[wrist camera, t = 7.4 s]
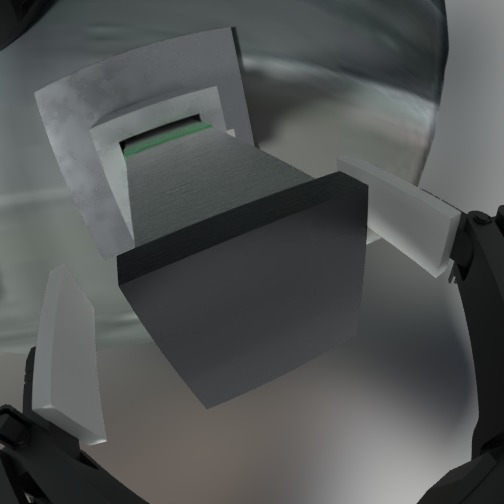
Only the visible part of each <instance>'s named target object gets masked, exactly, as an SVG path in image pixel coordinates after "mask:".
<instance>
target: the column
mask: <svg viewBox="0 0 504 504" xmlns="http://www.w3.org/2000/svg"><path fill="white" fill-rule="evenodd" d="M124 157H125V160H126V167H127V180H128V192H129V202H130V211H131V220H132V227H133V235H134V242H135V248H134V249H132V250H130V251H127V252H125V253H123V254H120V255H118V256H117V270H118V284H119V287H120V289H121V291H122V292H123V294H124V296H125V297H126V299H127V301H128V302H129V304H130V305H131V307H132V308H133V310H134V312H135V313H136V315H137V316H138V318H139V319H140V321H141V322H142V324H143V325H144V327H145V328H146V330H147V331H148V333H149V334H150V336H151V337H152V338H153V340H154V341H155V343H156V344H157V345H158V347H159V348H160V350H161V351H162V353H163V354H164V355H165V357H166V358H167V359H168V361H169V362H170V363H171V365H172V366H173V367H174V369H175V370H176V371H177V373H178V374H179V375H180V376H181V378H182V379H183V380H184V381H185V383H186V384H187V386H188V387H189V388H190V389H191V391H192V392H193V393H194V394H195V395H196V397H197V398H198V399H199V400H200V401H201V403H202V404H203V405H204V406H205V407H206V409H209V408H211V407H214V406H216V405H218V404H221V403H223V402H226V401H228V400H230V399H233V398H235V397H237V396H239V395H242V394H244V393H246V392H248V391H251V390H253V389H255V388H257V387H259V386H261V385H263V384H265V383H267V382H270V381H272V380H274V379H276V378H278V377H280V376H282V375H284V374H286V373H288V372H290V371H292V370H293V369H295V368H297V367H299V366H301V365H303V364H305V363H307V362H309V361H310V360H312V359H314V358H316V357H318V356H319V355H321V354H323V353H324V352H327V351H328V350H330V349H332V348H333V347H335V346H337V345H338V344H340V343H342V342H344V341H345V340H347V339H349V338H350V337H352V336H354V335H355V334H356V330H357V323H358V316H359V309H360V301H361V293H362V284H363V275H364V264H365V252H366V238H367V221H368V193H369V185H367V184H365V183H363V182H361V181H359V180H357V179H355V178H353V177H351V176H349V175H347V174H345V173H343V172H341V171H338V172H335V173H332V174H329V175H326V176H323V177H320V178H317V179H315V178H313V177H311V176H310V175H308V174H306V173H304V172H302V171H300V170H299V169H297V168H295V167H293V166H291V165H289V164H287V163H285V162H284V161H282V160H280V159H278V158H276V157H274V156H272V155H270V154H268V153H266V152H264V151H262V150H260V149H258V148H256V147H254V146H252V145H250V144H248V143H246V142H244V141H242V140H239V139H237V138H235V137H233V136H231V135H229V134H227V133H224V132H222V131H220V130H218V129H216V128H213V127H212V124H210V123H207V122H205V121H202V122H200V121H197V120H195V119H193V118H190V117H186V118H183V119H180V120H177V121H174V122H171V123H168V124H165V125H162V126H159V127H156V128H154V129H151V130H148V131H145V132H143V133H140V134H137V135H135V136H132V137H130V138H127V139H125V149H124Z"/></svg>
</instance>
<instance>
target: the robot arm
mask: <svg viewBox="0 0 504 504" xmlns="http://www.w3.org/2000/svg"><path fill="white" fill-rule="evenodd" d="M45 1H46V0H0V51H1V50H2V49H4V48H5V47H6V46H8V45H9V44H10V43H12V42H13V41H14V40H15V39H16V38H17V37H18V36H19V35H20V34H21V33H22V32H23V31H24V30H25V29H26V28H27V27H28V26H29V25H30V24H31V22H32V21H33V20H34V18H35V17H36V16H37V14H38V13H39V11H40V10H41V8H42V7H43V5H44V3H45ZM338 171H341V172H343V173H345V174H347V175H349V176H351V177H353V178H355V179H357V180H359V181H361V182H363V183H365V184H367V185H369V193H368V221H367V227H369V228H370V229H372V230H373V231H374V232H376V233H377V234H379V235H380V236H381V237H383V238H384V239H386V240H387V241H388V242H390V243H391V244H393V245H394V246H395V247H397V248H398V249H399V250H401V251H402V252H403V253H405V254H406V255H407V256H409V257H410V258H411V259H413V260H414V261H415V262H416V263H418V264H419V265H420V266H422V267H423V268H424V269H425V270H427V271H428V272H429V273H430V274H432V275H433V276H434V277H435V278H436V277H437V276H439V275H440V274H441V273H443V272H444V271H445V270H446V268H447V265H448V262H449V258H451V259H452V260H454V264H453V267H452V270H451V274H450V277H449V279H448V280H449V283H451V281H452V279H453V276H455V277H456V278H455V281H454V283H457V284H458V288H459V292H460V296H461V300H462V303H463V308H464V312H465V316H466V321H467V326H468V331H469V336H470V341H471V347H472V353H473V359H474V366H475V374H476V382H477V392H478V406H479V419H478V422H477V425H476V427H475V429H474V433H473V437H472V458H471V461H470V462H467V463H465V464H463V465H461V466H459V467H457V468H455V469H453V470H450V471H449V472H448V473H447V474H446V475H445V476H443V477H442V478H441V479H440V480H439V481H438V482H437V483H436V484H435V485H433V486H432V487H431V488H430V489H429V490H428V491H427V492H426V493H425V494H424V496H423V497H422V498H421V499H420V500H419V502H418V503H417V504H504V205H501V206H499V208H498V211H497V215H496V216H495V217H490V216H488V215H487V214H485V213H483V212H480V211H470V212H469V213H468V214H466V213H464V212H462V211H461V210H459V209H457V208H455V207H454V206H452V205H450V204H448V203H447V202H445V201H443V200H440V198H438V197H436V196H433V195H432V194H431V193H429V192H427V191H425V190H423V189H420V188H418V187H416V186H414V185H412V184H410V183H408V182H406V181H404V180H402V179H400V178H398V177H396V176H394V175H392V174H390V173H388V172H386V171H384V170H382V169H379V168H377V167H375V166H373V165H371V164H369V163H366V162H364V161H362V160H360V159H357V158H355V157H353V156H350V155H346V156H342V157H339V158H337V172H338ZM25 373H26V375H25V379H24V382H25V384H24V394H23V414H22V413H20V412H19V411H17V410H16V409H15V408H14V407H12V406H11V405H7V404H5V405H3V406H1V407H0V443H1V444H3V445H4V446H6V447H4V448H3V449H2V450H1V449H0V504H149V503H148V502H146V501H145V500H143V499H142V498H141V497H139V496H138V495H136V494H135V493H134V492H132V491H131V490H130V489H128V488H127V487H126V486H124V485H123V484H122V483H121V482H119V481H118V480H117V479H116V478H114V477H113V476H112V475H110V474H109V473H108V472H107V471H106V470H105V469H103V468H102V467H101V466H100V465H99V464H98V463H96V461H94V460H93V459H92V458H91V457H90V456H89V455H88V454H87V453H86V452H84V451H83V450H81V449H80V447H79V440H80V441H82V442H84V443H86V444H87V445H93V444H97V443H101V442H105V441H107V439H106V434H105V429H104V422H103V416H102V409H101V402H100V395H99V385H98V375H97V363H96V349H95V325H94V307H93V306H92V305H91V303H90V302H89V300H88V299H87V297H86V296H85V295H84V293H83V292H82V290H81V289H80V287H79V286H78V284H77V283H76V281H75V280H74V278H73V276H72V275H71V273H70V272H69V270H68V269H67V267H66V265H65V264H64V263H63V264H61V265H59V266H57V267H55V268H53V269H51V270H50V273H49V277H48V282H47V286H46V291H45V295H44V300H43V305H42V311H41V317H40V323H39V329H38V336H37V343H36V346H35V347H33V348H31V350H30V353H29V355H28V358H27V360H26V369H25ZM26 496H28V497H29V498H30V500H31V503H29V502H28V500H27V498H26Z"/></svg>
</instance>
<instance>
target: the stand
mask: <svg viewBox="0 0 504 504" xmlns="http://www.w3.org/2000/svg"><path fill="white" fill-rule="evenodd" d="M34 94H35V98H36V101H37V104H38V108H39V111H40V114H41V117H42V120H43V123H44V126H45V129H46V132H47V135H48V138H49V140H50V143H51V146H52V148H53V151H54V154H55V156H56V159H57V161H58V164H59V166H60V169H61V171H62V174H63V176H64V178H65V181H66V183H67V185H68V188H69V190H70V192H71V194H72V197H73V199H74V201H75V203H76V205H77V207H78V210H79V212H80V214H81V216H82V218H83V220H84V222H85V224H86V226H87V228H88V230H89V232H90V234H91V236H92V238H93V240H94V242H95V244H96V245H97V247H98V249H99V251H100V253H101V255H102V257H103V258H104V260H105V259H107V258H109V257H111V256H114V255H116V254H118V253H120V252H123V251H125V250H127V249H130V248H132V247H134V246H135V242H134V235H133V227H132V220H131V211H130V202H129V192H128V180H127V167H126V160H125V157H124V149H125V139H127V138H130V137H132V136H135V135H137V134H140V133H143V132H145V131H148V130H151V129H154V128H156V127H159V126H162V125H165V124H168V123H171V122H174V121H177V120H180V119H183V118H186V117H190V118H193V119H195V120H197V121H200V122H202V121H205V122H207V123H210V124H212V127H213V128H216V129H218V130H220V131H222V132H224V133H227V134H229V135H231V136H233V137H235V138H237V139H239V140H242V141H244V142H246V143H248V144H250V145H252V146H254V147H255V145H254V140H253V135H252V130H251V125H250V119H249V114H248V109H247V104H246V99H245V94H244V89H243V84H242V79H241V74H240V69H239V65H238V60H237V55H236V50H235V46H234V41H233V36H232V32H231V27H227V28H221V29H215V30H209V31H204V32H198V33H193V34H189V35H184V36H180V37H176V38H172V39H168V40H164V41H160V42H156V43H153V44H149V45H146V46H143V47H139V48H136V49H133V50H130V51H127V52H124V53H121V54H118V55H116V56H113V57H110V58H108V59H105V60H102V61H100V62H97V63H95V64H92V65H90V66H88V67H85V68H83V69H81V70H78V71H76V72H74V73H72V74H70V75H68V76H65V77H63V78H61V79H59V80H57V81H55V82H53V83H51V84H49V85H47V86H46V87H44V88H42V89H40V90H38V91H36V92H35V93H34Z"/></svg>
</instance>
